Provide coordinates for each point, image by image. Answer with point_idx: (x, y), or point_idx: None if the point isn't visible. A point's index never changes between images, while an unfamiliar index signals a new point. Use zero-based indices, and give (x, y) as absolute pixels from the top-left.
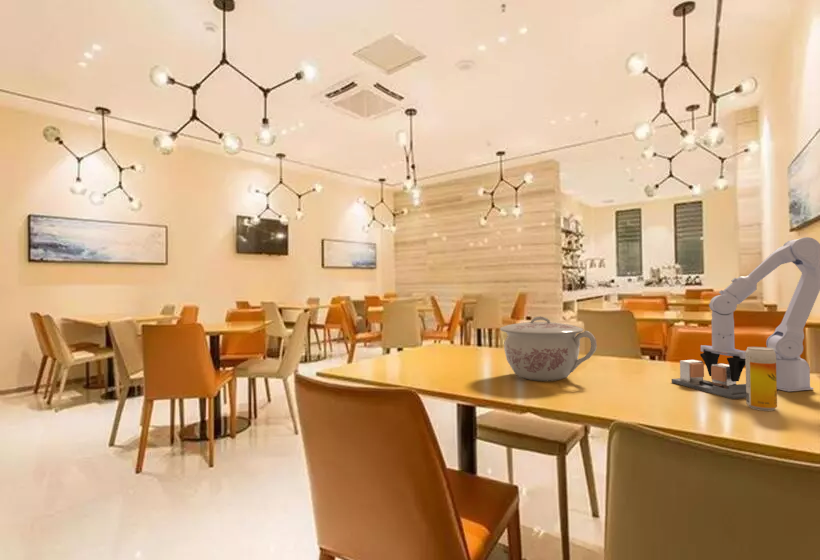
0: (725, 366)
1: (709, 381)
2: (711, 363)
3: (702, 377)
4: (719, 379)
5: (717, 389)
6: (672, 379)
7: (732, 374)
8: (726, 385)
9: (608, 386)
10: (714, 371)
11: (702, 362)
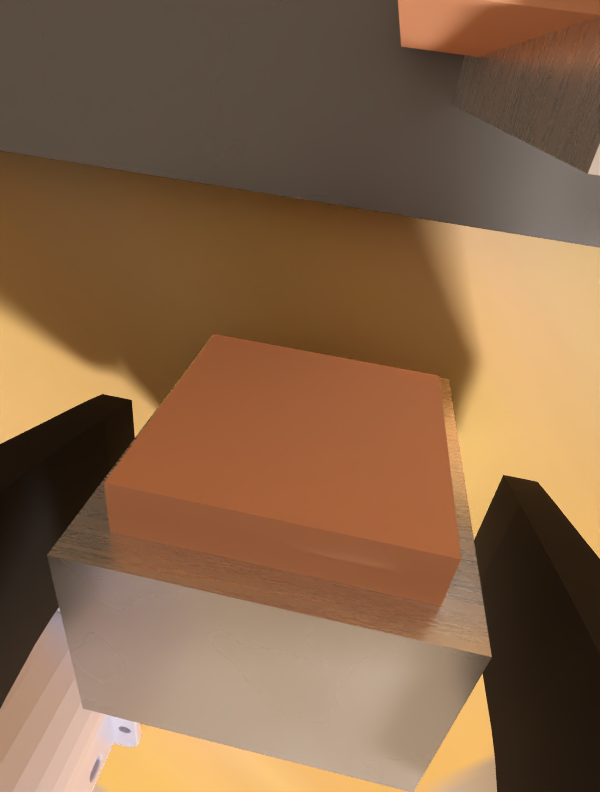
0: (96, 583)
1: (365, 196)
2: (562, 729)
3: (468, 86)
4: (274, 356)
5: None
6: None
7: (16, 438)
8: (14, 144)
9: None
10: (361, 450)
11: (579, 118)
